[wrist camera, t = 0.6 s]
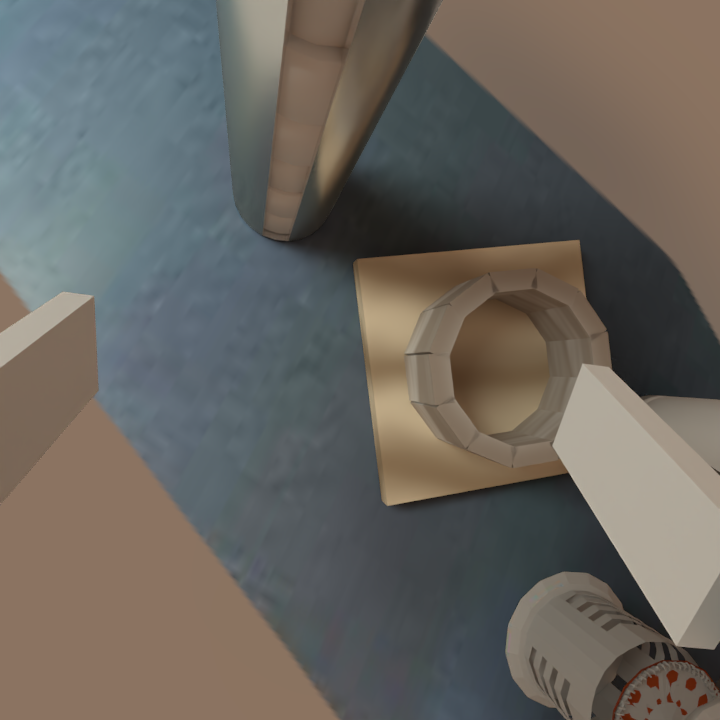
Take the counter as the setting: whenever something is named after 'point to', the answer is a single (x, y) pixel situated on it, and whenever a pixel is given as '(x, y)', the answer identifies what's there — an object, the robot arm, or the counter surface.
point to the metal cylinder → (307, 98)
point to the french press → (600, 657)
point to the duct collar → (473, 363)
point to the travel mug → (692, 423)
